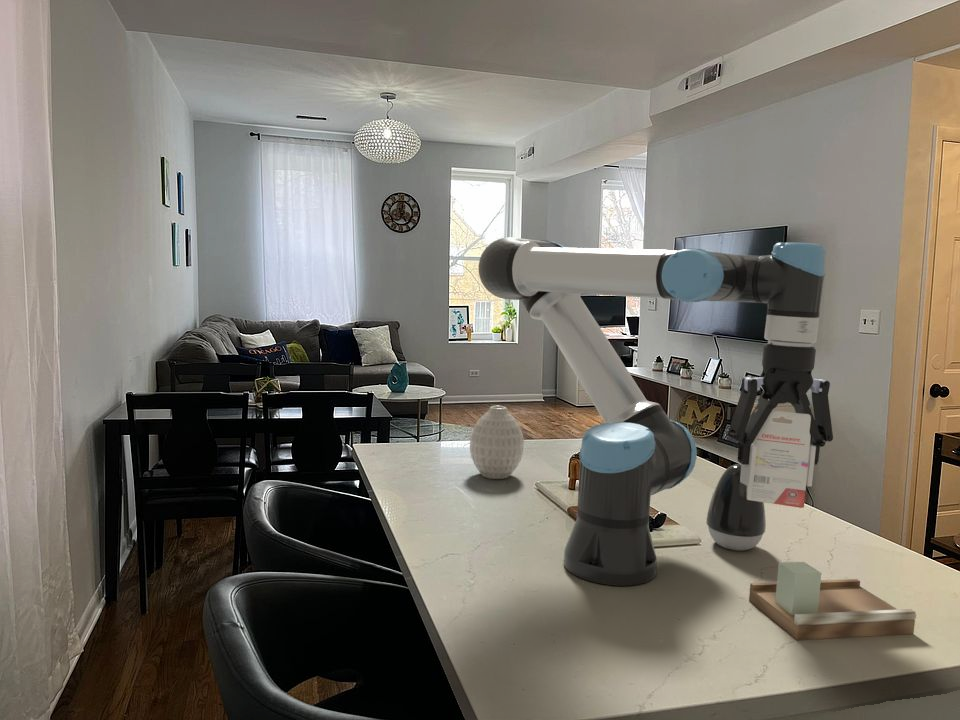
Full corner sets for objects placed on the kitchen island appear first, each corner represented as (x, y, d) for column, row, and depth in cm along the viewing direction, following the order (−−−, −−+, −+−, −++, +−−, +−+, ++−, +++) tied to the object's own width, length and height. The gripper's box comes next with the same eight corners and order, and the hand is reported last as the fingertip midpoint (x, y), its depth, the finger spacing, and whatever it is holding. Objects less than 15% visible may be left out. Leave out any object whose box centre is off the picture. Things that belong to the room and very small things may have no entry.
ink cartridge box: (803, 500, 116) (812, 410, 115) (804, 509, 112) (814, 415, 110) (746, 492, 120) (754, 403, 118) (745, 500, 115) (753, 408, 113)
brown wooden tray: (797, 640, 98) (799, 617, 98) (748, 600, 110) (750, 580, 110) (914, 634, 101) (916, 612, 101) (854, 596, 113) (857, 576, 113)
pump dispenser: (736, 559, 126) (743, 474, 125) (693, 539, 135) (699, 460, 134) (777, 551, 131) (784, 469, 129) (732, 533, 140) (739, 455, 138)
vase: (531, 475, 176) (535, 407, 174) (504, 486, 165) (508, 414, 163) (486, 465, 183) (489, 400, 181) (458, 476, 172) (460, 406, 170)
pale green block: (791, 615, 101) (795, 573, 100) (775, 602, 105) (778, 562, 104) (817, 614, 102) (821, 572, 101) (800, 601, 106) (803, 561, 105)
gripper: (737, 343, 107) (723, 491, 110) (869, 348, 111) (853, 490, 114) (712, 338, 114) (699, 477, 117) (837, 343, 118) (823, 477, 121)
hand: (775, 484), depth 115 cm, fingers closed on ink cartridge box, 9 cm apart
